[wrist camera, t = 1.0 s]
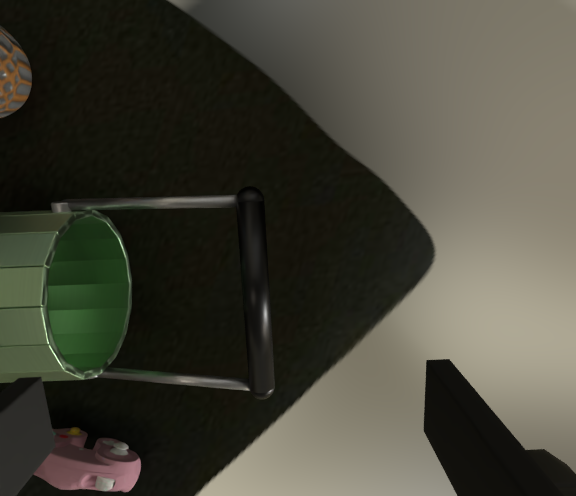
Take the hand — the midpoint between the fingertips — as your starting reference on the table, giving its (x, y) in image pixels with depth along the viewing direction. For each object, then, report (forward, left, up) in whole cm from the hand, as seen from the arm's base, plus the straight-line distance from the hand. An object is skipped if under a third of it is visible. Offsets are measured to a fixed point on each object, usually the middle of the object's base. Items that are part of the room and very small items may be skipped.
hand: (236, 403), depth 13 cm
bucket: (0, -21, -13) cm, 25 cm away
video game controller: (+16, -16, -19) cm, 30 cm away
